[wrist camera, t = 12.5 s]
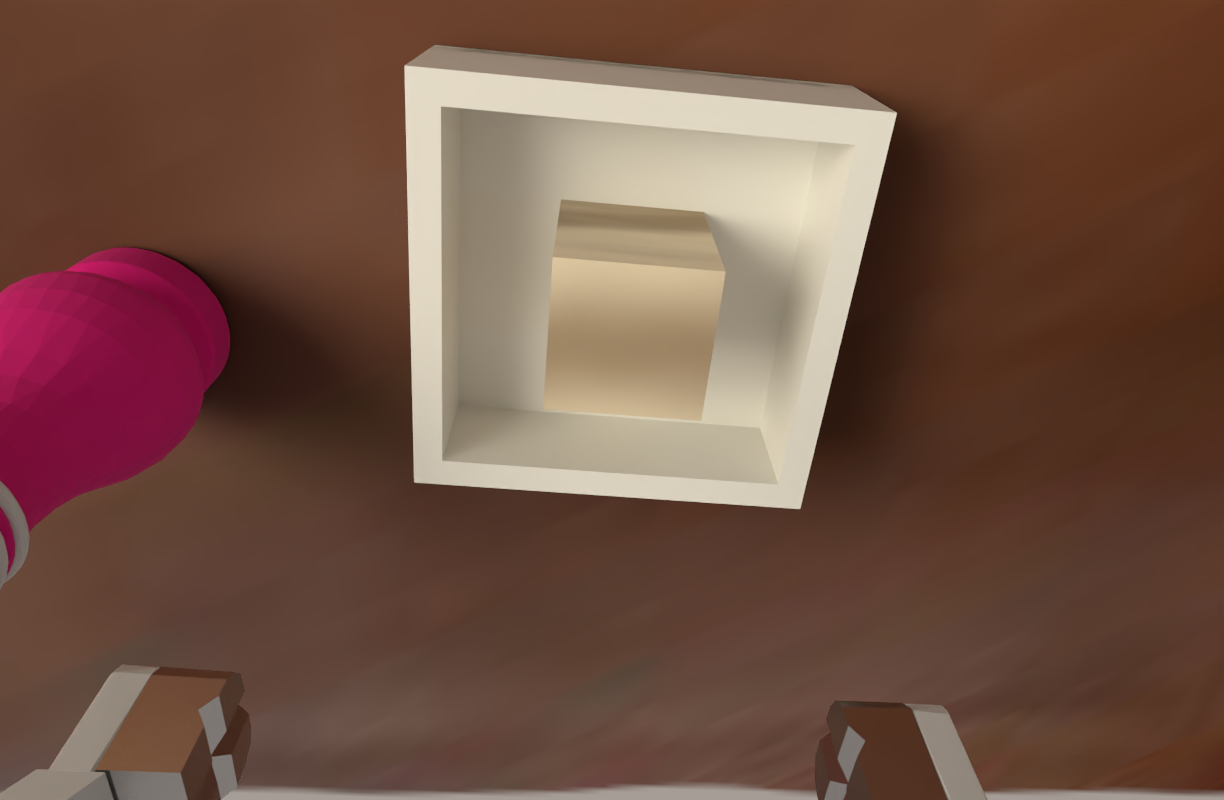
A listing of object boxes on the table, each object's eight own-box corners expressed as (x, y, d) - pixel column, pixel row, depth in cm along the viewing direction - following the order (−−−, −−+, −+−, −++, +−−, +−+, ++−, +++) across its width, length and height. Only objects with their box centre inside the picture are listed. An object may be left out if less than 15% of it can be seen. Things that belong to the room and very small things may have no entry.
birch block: (561, 199, 29) (552, 257, 24) (703, 212, 30) (725, 271, 24) (552, 330, 32) (543, 409, 27) (684, 341, 32) (701, 420, 27)
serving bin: (435, 45, 28) (404, 65, 24) (851, 85, 29) (897, 112, 24) (437, 412, 35) (414, 482, 30) (775, 438, 35) (800, 509, 31)
